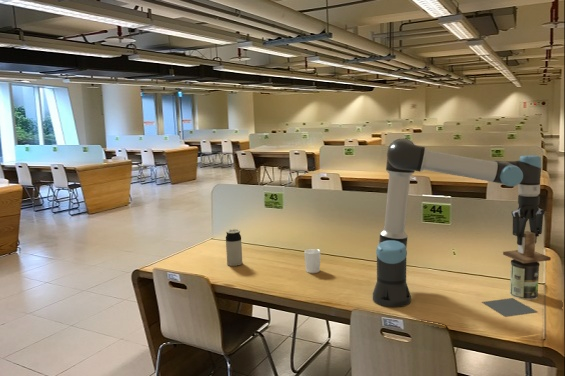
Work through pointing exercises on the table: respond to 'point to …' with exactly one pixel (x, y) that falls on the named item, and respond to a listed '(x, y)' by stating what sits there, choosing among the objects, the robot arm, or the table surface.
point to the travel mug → (233, 247)
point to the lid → (527, 251)
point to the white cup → (312, 260)
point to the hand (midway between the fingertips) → (526, 251)
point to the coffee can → (524, 279)
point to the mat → (509, 307)
